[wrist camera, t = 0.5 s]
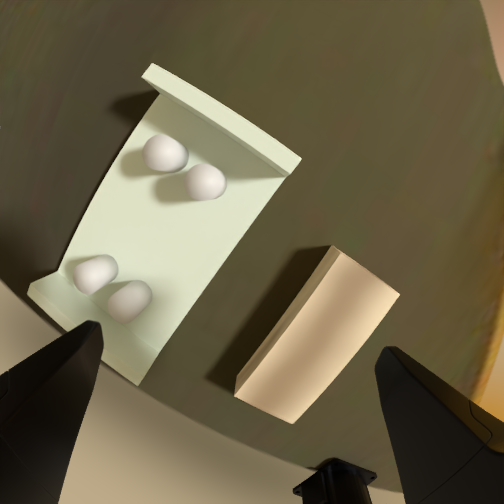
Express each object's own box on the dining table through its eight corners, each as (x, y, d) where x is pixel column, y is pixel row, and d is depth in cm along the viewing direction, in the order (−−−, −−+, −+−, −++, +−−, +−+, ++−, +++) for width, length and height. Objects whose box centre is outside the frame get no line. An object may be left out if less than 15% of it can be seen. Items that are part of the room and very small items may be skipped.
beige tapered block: (384, 281, 22) (399, 294, 19) (289, 400, 24) (292, 424, 21) (330, 244, 21) (340, 252, 18) (237, 373, 23) (233, 396, 20)
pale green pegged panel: (293, 165, 20) (301, 158, 16) (157, 354, 23) (137, 386, 19) (173, 85, 19) (152, 63, 15) (60, 277, 22) (26, 294, 18)
